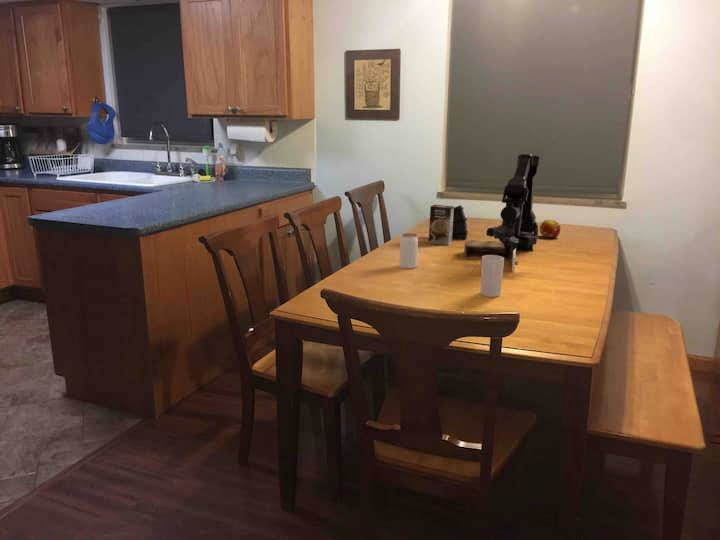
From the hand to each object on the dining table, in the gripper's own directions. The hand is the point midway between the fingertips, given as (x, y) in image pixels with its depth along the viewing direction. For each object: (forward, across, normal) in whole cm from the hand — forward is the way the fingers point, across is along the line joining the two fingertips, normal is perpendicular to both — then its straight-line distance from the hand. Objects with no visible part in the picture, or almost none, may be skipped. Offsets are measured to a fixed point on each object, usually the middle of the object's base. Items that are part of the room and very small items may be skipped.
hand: (508, 258), depth 227 cm
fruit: (+4, -19, +57) cm, 60 cm away
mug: (+2, +20, -35) cm, 40 cm away
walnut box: (+3, -14, +6) cm, 15 cm away
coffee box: (+5, -41, +8) cm, 42 cm away
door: (+3, +2, +1) cm, 4 cm away
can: (+4, -21, -31) cm, 38 cm away
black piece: (+5, -45, +20) cm, 49 cm away
